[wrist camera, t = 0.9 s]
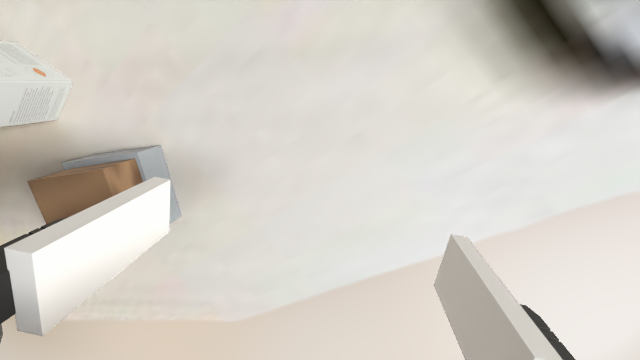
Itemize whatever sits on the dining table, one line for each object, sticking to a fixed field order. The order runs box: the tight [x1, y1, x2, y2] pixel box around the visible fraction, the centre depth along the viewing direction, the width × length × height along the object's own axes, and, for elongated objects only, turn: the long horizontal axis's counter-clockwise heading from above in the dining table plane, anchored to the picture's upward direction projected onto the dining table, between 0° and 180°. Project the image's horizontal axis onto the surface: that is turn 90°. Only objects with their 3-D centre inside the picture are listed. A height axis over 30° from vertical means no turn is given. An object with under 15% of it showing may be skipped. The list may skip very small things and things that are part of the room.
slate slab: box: [62, 145, 181, 224], centre depth 41 cm, size 10×10×5 cm
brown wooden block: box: [27, 158, 143, 224], centre depth 36 cm, size 9×9×5 cm
